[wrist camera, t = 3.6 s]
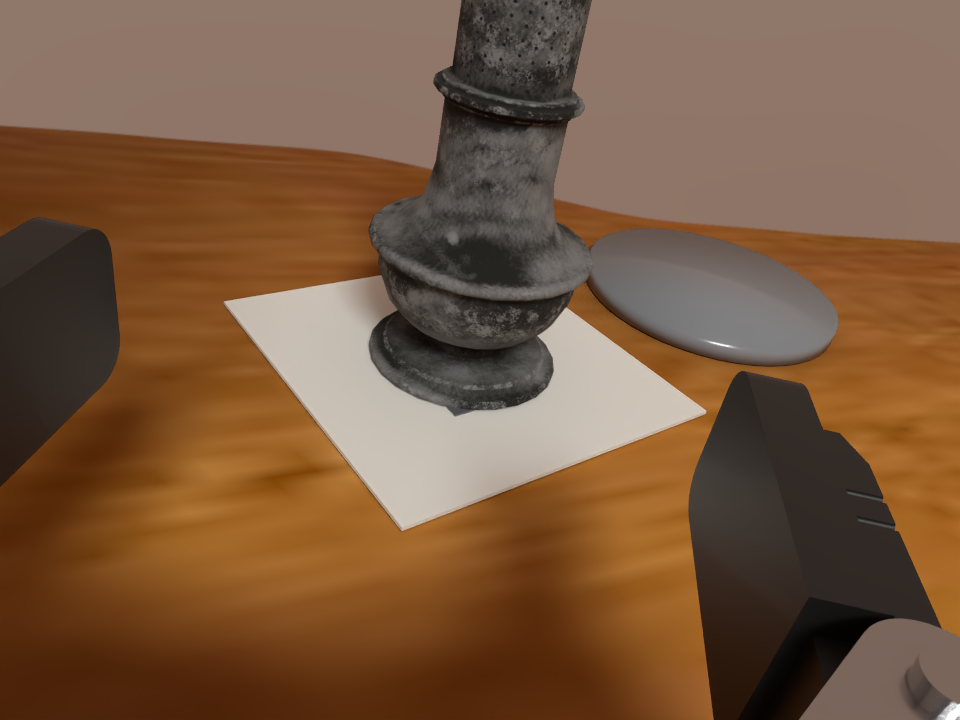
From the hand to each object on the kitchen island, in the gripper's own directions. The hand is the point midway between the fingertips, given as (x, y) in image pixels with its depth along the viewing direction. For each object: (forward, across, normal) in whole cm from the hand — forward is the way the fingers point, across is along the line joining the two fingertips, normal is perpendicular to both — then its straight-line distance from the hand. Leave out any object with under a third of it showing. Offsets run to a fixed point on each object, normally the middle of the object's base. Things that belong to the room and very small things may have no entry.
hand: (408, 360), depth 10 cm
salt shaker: (+10, 0, +6) cm, 12 cm away
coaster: (+18, -8, +6) cm, 21 cm away
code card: (+10, 0, +6) cm, 12 cm away
